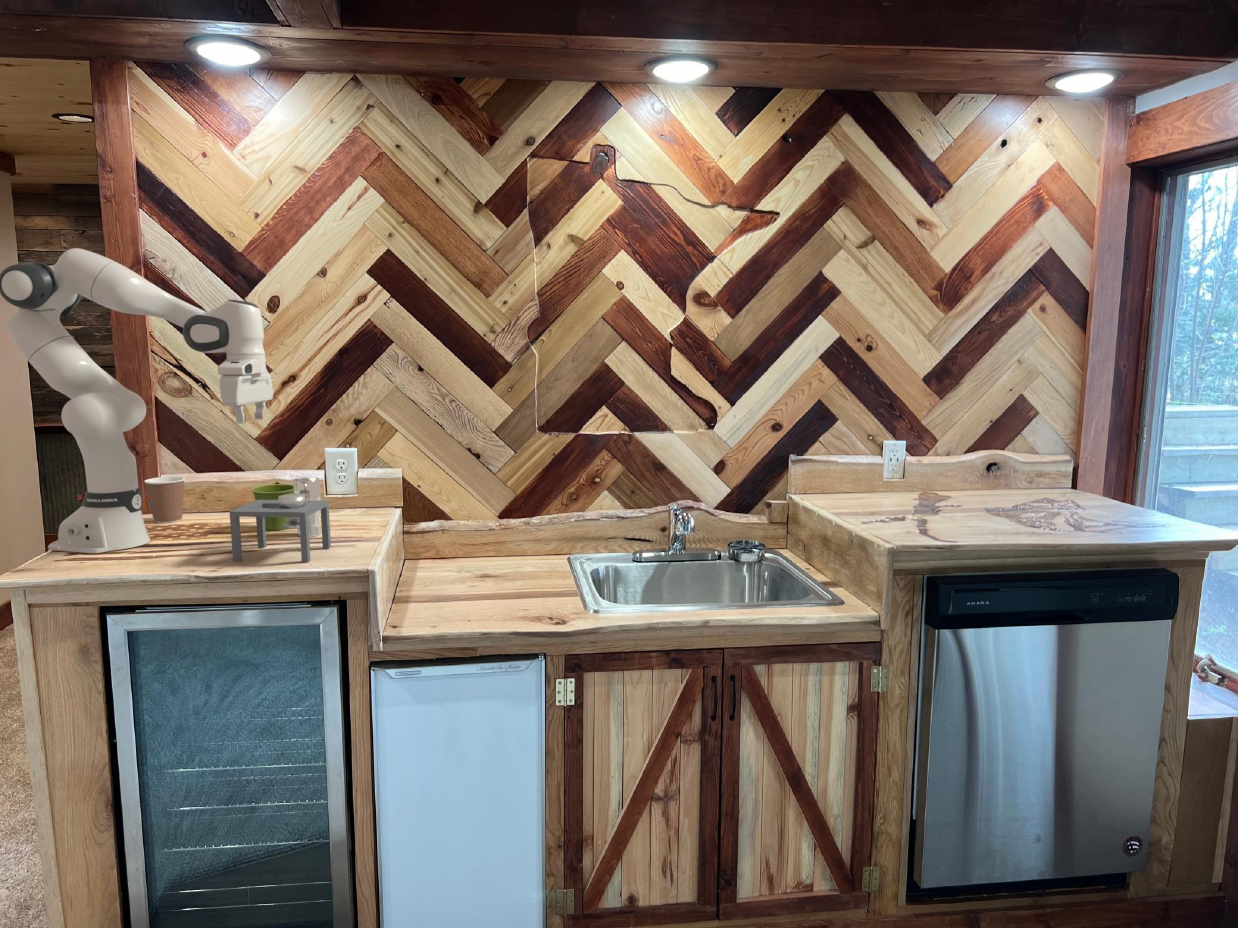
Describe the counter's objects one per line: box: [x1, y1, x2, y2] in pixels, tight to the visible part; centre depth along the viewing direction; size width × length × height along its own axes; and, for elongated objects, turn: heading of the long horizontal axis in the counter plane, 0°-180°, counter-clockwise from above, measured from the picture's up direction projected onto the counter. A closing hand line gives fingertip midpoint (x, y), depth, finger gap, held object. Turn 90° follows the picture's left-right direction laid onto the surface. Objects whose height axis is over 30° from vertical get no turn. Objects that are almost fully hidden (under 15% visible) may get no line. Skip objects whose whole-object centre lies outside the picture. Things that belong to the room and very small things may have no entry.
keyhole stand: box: [229, 499, 332, 563], centre depth 205 cm, size 18×14×12 cm
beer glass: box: [292, 476, 322, 538], centre depth 225 cm, size 7×7×15 cm
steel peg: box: [279, 494, 306, 530], centre depth 204 cm, size 6×6×8 cm
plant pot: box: [250, 483, 293, 531], centre depth 232 cm, size 12×12×11 cm
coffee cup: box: [144, 476, 186, 524], centre depth 241 cm, size 10×10×12 cm
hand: (250, 421), depth 213 cm, fingers open, 8 cm apart
